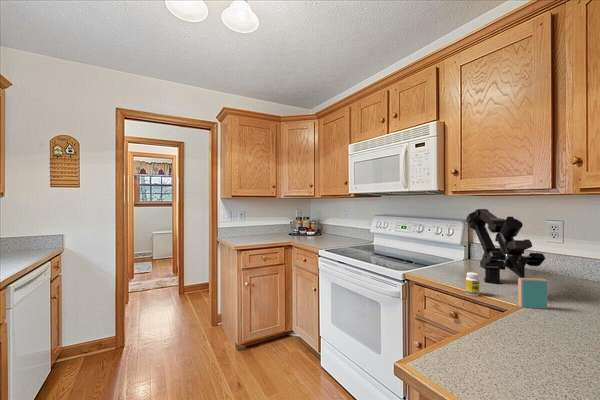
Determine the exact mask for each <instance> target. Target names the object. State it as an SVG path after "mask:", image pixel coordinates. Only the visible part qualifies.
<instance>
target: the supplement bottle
mask: <svg viewBox="0 0 600 400" xmlns="http://www.w3.org/2000/svg"><path fill="white" fill-rule="evenodd" d="M465 293H466V295H468V296H472V297H473V296H474V297H478V296H479V295H480V278H479V274H478V273H476V272H470V271H469V272H466V277H465Z"/></svg>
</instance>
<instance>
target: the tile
mask: <svg viewBox="0 0 600 400" xmlns="http://www.w3.org/2000/svg"><path fill="white" fill-rule="evenodd" d="M517 305H518V307H521V308H525V309H526V308H527V309H529V308H531V309H541V310H542V309H543V310H548V279H545V278H533V277H530V278H529V277H524V278H520V277H518V278H517Z"/></svg>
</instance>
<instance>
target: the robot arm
mask: <svg viewBox="0 0 600 400" xmlns="http://www.w3.org/2000/svg"><path fill="white" fill-rule="evenodd" d="M465 220H466V221H465V222H466V223H467V225H468V226H469V228H471V229H472V230H474V231H475V234H476V236H477V238H478V240H479V243H480V245H481V247H482V250H483V255H482V257H481V259H480V262H479V266H480V268H482V269H483V270H484V277H483V281H484V283H491V284H497V285H502V284H503V282H502V281H501V270H504V271H505V270H506V268H507V269H509V270H510V271H512V272H513V273H514V274H515V275H516V276H518V278H526V277H525V276H526V275H525V272H526V271H525V269H526V265H528V266H529V267H540V266H541V265H542V264H543V262H544V261H545V260H546V256H545V255H544V254H543V253H542V252H529V254H528V255H524V254H525V250H529V249H531V248H532V247H533V243H532V241H531V240H530V239H528V238H527V239H522V240H520V239H519V240H518V239H517V240H516V239H515V237H517V236H518V234H519V232H520V231H521V229H522V228H523V226H524V224H523V222H522V221H520V220H519V219H517V218H514V216H506V218H501V217H500V218H499V217H497V216H496V215H494V214H493V213H492V212H490V211H489V209H487V208H478V209H475V210H474V211H473V212H470V213H468V214H467V216H466V219H465ZM486 225H487V228H486ZM488 230H489V231H490V232H491V233H492V234H496V235H495V239H494V241H495V242H496V243H498V245H499V247H495V244H494V242H493V240H492V238H491V235H490V234H489V232H488Z"/></svg>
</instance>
